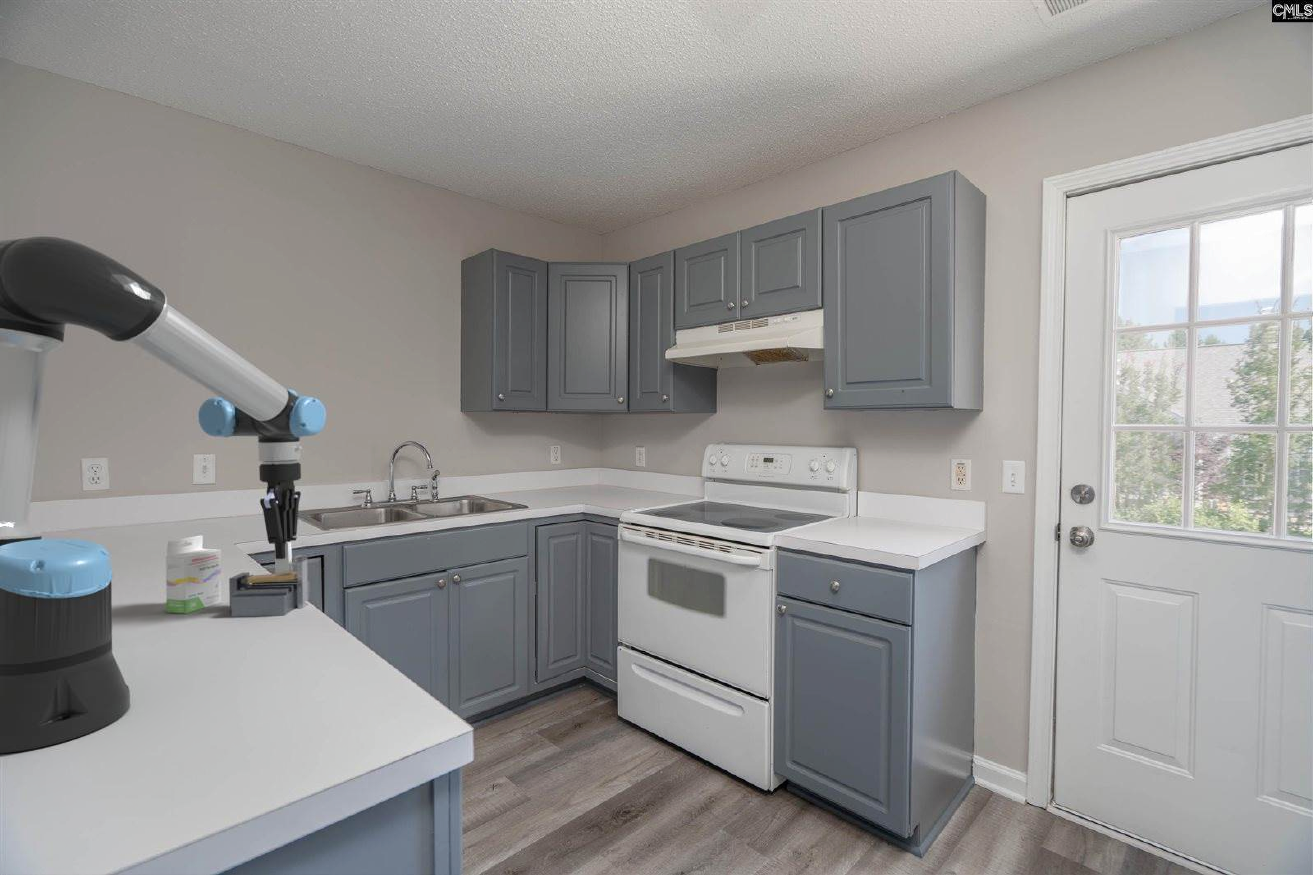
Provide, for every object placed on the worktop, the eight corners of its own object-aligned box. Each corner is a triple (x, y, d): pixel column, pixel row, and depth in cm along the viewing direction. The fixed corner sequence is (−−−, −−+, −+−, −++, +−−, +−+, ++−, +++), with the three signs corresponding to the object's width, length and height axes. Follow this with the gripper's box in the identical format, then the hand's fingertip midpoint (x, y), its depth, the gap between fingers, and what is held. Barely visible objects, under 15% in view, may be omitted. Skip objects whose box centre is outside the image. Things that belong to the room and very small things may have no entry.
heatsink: (292, 615, 127) (291, 562, 126) (219, 617, 125) (219, 564, 125) (317, 598, 139) (316, 550, 138) (251, 600, 137) (250, 551, 137)
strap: (293, 580, 130) (292, 574, 130) (239, 585, 129) (238, 579, 129) (301, 575, 134) (301, 570, 134) (249, 580, 133) (249, 575, 133)
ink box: (185, 614, 127) (184, 542, 127) (165, 613, 128) (164, 541, 128) (222, 602, 135) (221, 535, 135) (203, 601, 136) (202, 534, 136)
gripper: (284, 464, 125) (288, 580, 126) (312, 459, 138) (315, 564, 139) (244, 465, 124) (248, 581, 125) (276, 460, 137) (280, 566, 138)
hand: (284, 572), depth 132 cm, fingers closed
